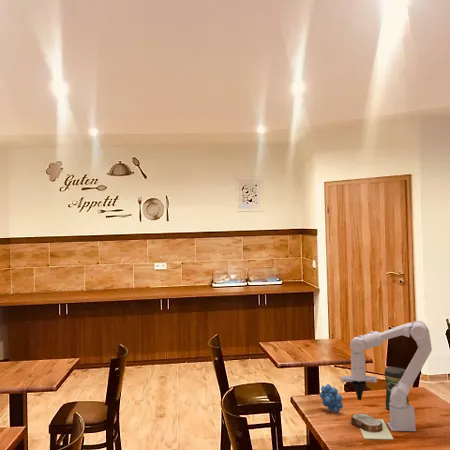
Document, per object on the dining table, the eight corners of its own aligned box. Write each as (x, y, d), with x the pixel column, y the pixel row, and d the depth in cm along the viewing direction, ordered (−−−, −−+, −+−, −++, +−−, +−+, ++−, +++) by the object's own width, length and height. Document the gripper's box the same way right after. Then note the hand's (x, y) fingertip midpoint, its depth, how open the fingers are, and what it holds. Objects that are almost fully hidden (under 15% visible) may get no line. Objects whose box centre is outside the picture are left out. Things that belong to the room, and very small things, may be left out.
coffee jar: (412, 409, 218) (410, 368, 219) (402, 414, 213) (401, 371, 214) (392, 404, 226) (391, 364, 226) (382, 408, 221) (381, 367, 221)
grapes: (315, 411, 220) (314, 384, 220) (323, 407, 224) (322, 381, 225) (337, 417, 212) (336, 389, 212) (345, 413, 216) (345, 386, 217)
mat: (382, 419, 208) (382, 419, 208) (393, 439, 188) (393, 438, 188) (356, 419, 209) (356, 418, 209) (364, 439, 189) (364, 438, 189)
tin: (370, 433, 193) (387, 431, 196) (370, 425, 193) (387, 423, 196) (347, 420, 207) (363, 419, 210) (347, 413, 207) (363, 411, 210)
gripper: (374, 364, 209) (375, 396, 208) (339, 364, 210) (340, 395, 210) (377, 368, 202) (378, 401, 201) (341, 368, 203) (342, 401, 203)
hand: (359, 399), depth 205 cm, fingers closed
